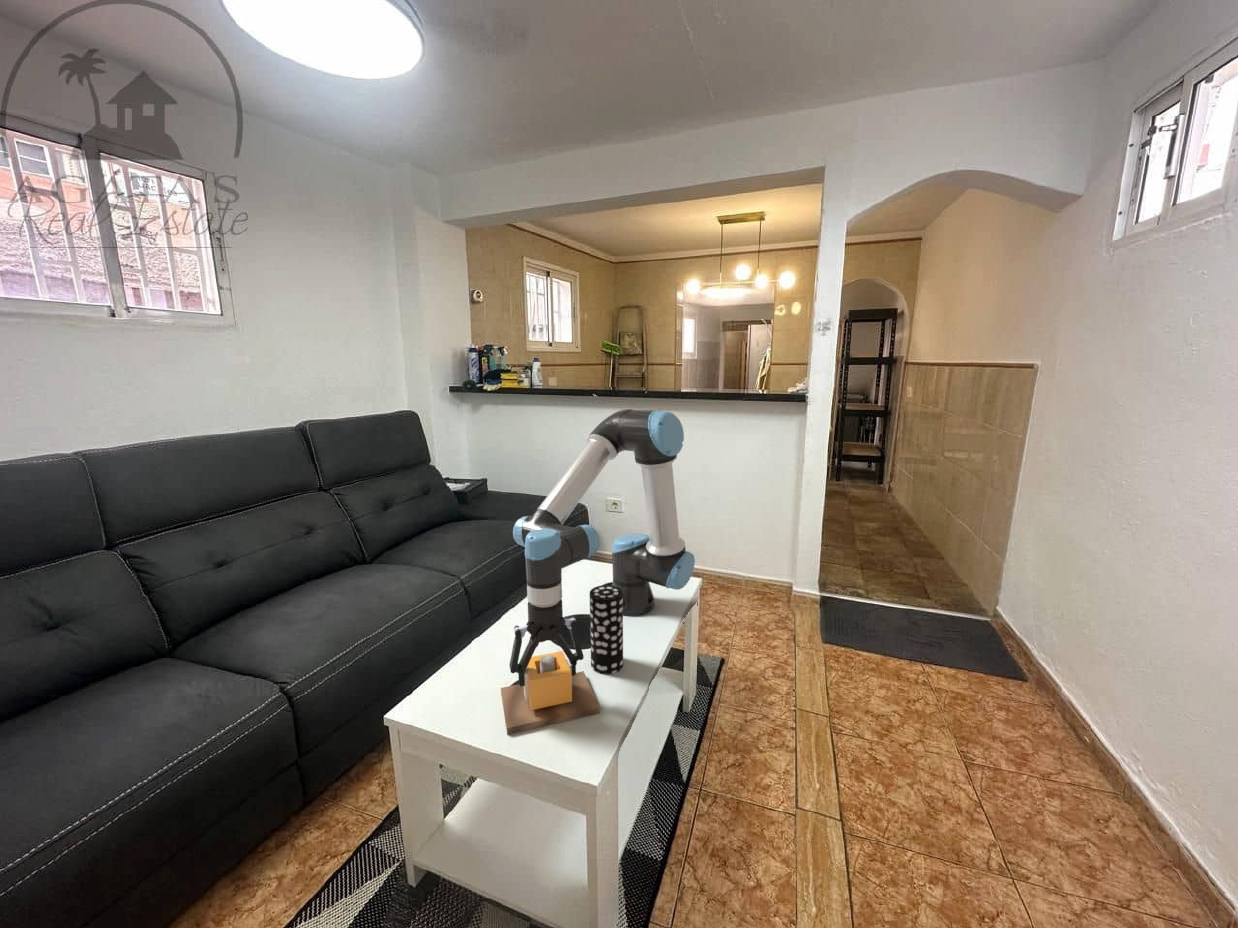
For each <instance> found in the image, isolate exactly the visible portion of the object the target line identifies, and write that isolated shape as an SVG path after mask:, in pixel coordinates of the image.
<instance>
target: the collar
mask: <svg viewBox="0 0 1238 928" xmlns="http://www.w3.org/2000/svg"><path fill="white" fill-rule="evenodd" d="M546 655H550V656H553V657H554V664H555V671H550V672H545V673H540V658H541V657H543V656H546ZM566 659H567V658H566V654H565V653H564V651H563V650H560V651H556V652H550V653H545V654H540V655H532V657H531V659H530V662H529V664H528V666H527V672H528V685H529V703H530V707H531V710H535V709H539V708H544V707H549V706H553V705H558V704H562V703H567V702H572V679H571V671H570V668H569V666H568V663H567V660H566Z"/></svg>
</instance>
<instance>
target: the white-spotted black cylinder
mask: <svg viewBox="0 0 1238 928" xmlns="http://www.w3.org/2000/svg"><path fill="white" fill-rule="evenodd" d="M589 627H590V628H589V631H590V634H589V635H590V668H591V669H592V670H593V671H594V672H596V673H597V674H601V675H611V674H616V673H618V672H620V670H622V668H623V667H624V615H623V591H622V589H620V588H619V587H616V586H612V584H603V585H602V584H601V585H598V586H595V587H593V588H591V589H590V591H589Z"/></svg>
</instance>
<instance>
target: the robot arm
mask: <svg viewBox="0 0 1238 928" xmlns="http://www.w3.org/2000/svg"><path fill="white" fill-rule="evenodd" d="M684 432H685V431H684V427H683V424H682V422H681V420H680V419H679V417H678V416H677V415H676V414H674V413H673V412H671V411H663V410H659V409H657V410H651V409H650V410H647V409H633V408H630V409H629V408H628V409H627V408H626V409H621V410H619V411H616V412H614V413H612V414H611V415H609V416H607V417H606V418H605V419H603V420H602V421H601V422H600V423H599V424H598V425H597V426H595V428H594V429H593V430H592V432H590V434H589V435H588V436H587V438H586V445H585V446H584V447H583V448H582V450H581V452H579V454H578V456H577V457H576V458H575V459H574V461H573V462H572V463H571V464H570V465H569V467H568V468H567V470H566V471H565V473H564V474H563V475H562V476H561V477H560V479H559V480H558V481H557V483H556V484H555V485H554V487H553V488H552V489H551V490H550V492H549V493H548V495H546V497H545V499H544V500H543V501H542V502H541V504H540V505H539V506H538V507H537V509H536V510H535V511H534V513H533V514H532V515H526V516H522V517H520V518H518V519H517V520H516V521H515V524H514V526H513V530H512V537H513V540H514V541H515V543H516V544H518V545H520V546H521V547H524V557H525V573H526V590H527V591H526V596H527V597H526V598H527V601H528V602H527V623H526V624H524V625H522V626H519V625H515V626H514V627H513V630H514V640H513V644H512V649H511V656H510V659H509V670H510V673H511V674H516V673H517V674H518V684H519V685H520V687H521V686H524V695H525V699H526V701H528V700H529V685H528V672H527V666H528V664H529V662H530V659H531V657H533V656H534V654H535V651H536V649H537V647H538V646H539V644H540V643H544V642H547V641H554V640H555V641H556V642H557V643H558V645H559V647H560V648H561V649H562V650H561V651H563V653H564V655H565V657H567V658H566V660H567V663H568V666H569V668H570V671H571V679H572V676H574V675H575V674H576V673H577V666H578V665H577V664H578V661H582V660H584V658H585V657H584V654H583V653H584V652H583V650H582V646H581V643H580V638H579V635H578V632H577V629H578V628H577V627H578V622H577V619H576V618H575V616H574V615H573V616H570V617H569V618H564V617H563V616H564V615H563V611H564V610H563V600H562V599H563V588H562V586H563V585H562V575H563V573H562V570H563V569H564V568H567V567H570V566H571V565H574V564H575V563H578V562H581V561H584V560H587V559H588V558H589V557H591V556H593V555H595V554H596V553H597V552H598V551H599V548H600V544H601V543H600V541H601V540H600V535H599V534H598V532H597V530H596V529H595V527H593V526H592V525H589V524H582V525H577V526H576V527H572V526H567V525H564V523H565V521H567V519H568V518H569V516H570V515H571V514H572V512H573V511H574V509H575V508H576V507H577V505H578V504H579V502H581V500H582V498H583V496H585V494H586V492H587V491H588V490H589V489H590V487H591V486H592V484H593V483H594V482H595V480H596V479H597V477H598V476H599V475H600V473H601V472H602V471H603V469H604V468H605V466H606V465H607V464H608V462H609V461H613V460H614V459H616V457H617V456H618V455H619V453H621V452H624V451H626V452H627V451H628V452H633V454H634V460H635V461H634V462H635V463H636V464H637V465H639V466H640V467H641V474H642V482H643V483H642V484H643V490H644V499H645V507H646V515H647V523H648V533H649V535H648V534H645V533H629V534H628V533H627V534H623V535H619V536H617V537H616V538H615V539H613V542H612V550H611V556H612V559H611V560H612V562H611V563H612V583H611V585H612V586H616V587H619V588H620V589H622V591H623V616H633V617H634V616H640V615H645V614H647V613H650V612H651V611H652V610H653V609H654V607H655V596H654V594H653V590H652V587H651V584H650V583H652V584H654V585H658V586H661V587H665V588H666V589H673V590H676V591H679V590H681V589H683V588H685V586H687V584H688V583H689V582H690V580H691V578H692V576H693V573H694V569H695V562H696V561H695V559H696V558H695V555H694V553H692V552H691V551H688V550H686V543H685V540H684V539H683V538H682V537H680V532H679V521H678V520H679V519H678V511H677V500H676V491H675V490H676V489H675V481H674V480H675V479H674V469H673V463H674V462H675V461H676V459H677V456H678V454H680V452H681V451H682V449H683V446H684V444H683V442H684V441H685V436H684V435H685V433H684ZM565 626H566V628H567V630H569V633H570V636H571V640H572V643H573V646H574V650H575V652H574V653H573V652H572V650H571V649H570V647H569V645H568V644H567V642H566V640H565V639H564V637H563V636H562V634H561V632H562V630H563V628H564V627H565ZM527 632H528V634H530V637H529V640H528V642H527V645H526V647H525V650H523V654H522V656H521V658H520V653H521V648H522V644H523V638H524V637H525V635H526V633H527ZM519 658H520V659H519Z"/></svg>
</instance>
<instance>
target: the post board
mask: <svg viewBox="0 0 1238 928" xmlns="http://www.w3.org/2000/svg"><path fill="white" fill-rule="evenodd" d="M550 671H555V664H554V657H553V656H550V655H546V656H543V657H541V658H540V673H545V672H550ZM591 687H592V686H591V685H590V683H589V680H588V679H587V675H586V673H585V672H584V671H576V674H575V675H574V676H572V702H567V703H562V704H558V705H553V706H549V707H544V708H539V709H535V710H531V707H530V703H529V700H528V701H526V699H525V695H524V686H521V687H520V685H519V683H518V684H514V685H509V686H504V687H501V688H500V696H501V701H502V708H503V714H504V722H505V727H506V736H507V735H511V734H517V733H520V732H525V731H529V730H533V729H537V728H542V727H545V726H551V725H554V724H555V725H556V724H559V723H563V722H568V721H572V720H577V719H581V718H585V717H590V716H593V715H599V714H600V706H599V703H598V701H597V699H596V696H595V694H594V692H593V689H592V688H591Z"/></svg>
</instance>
